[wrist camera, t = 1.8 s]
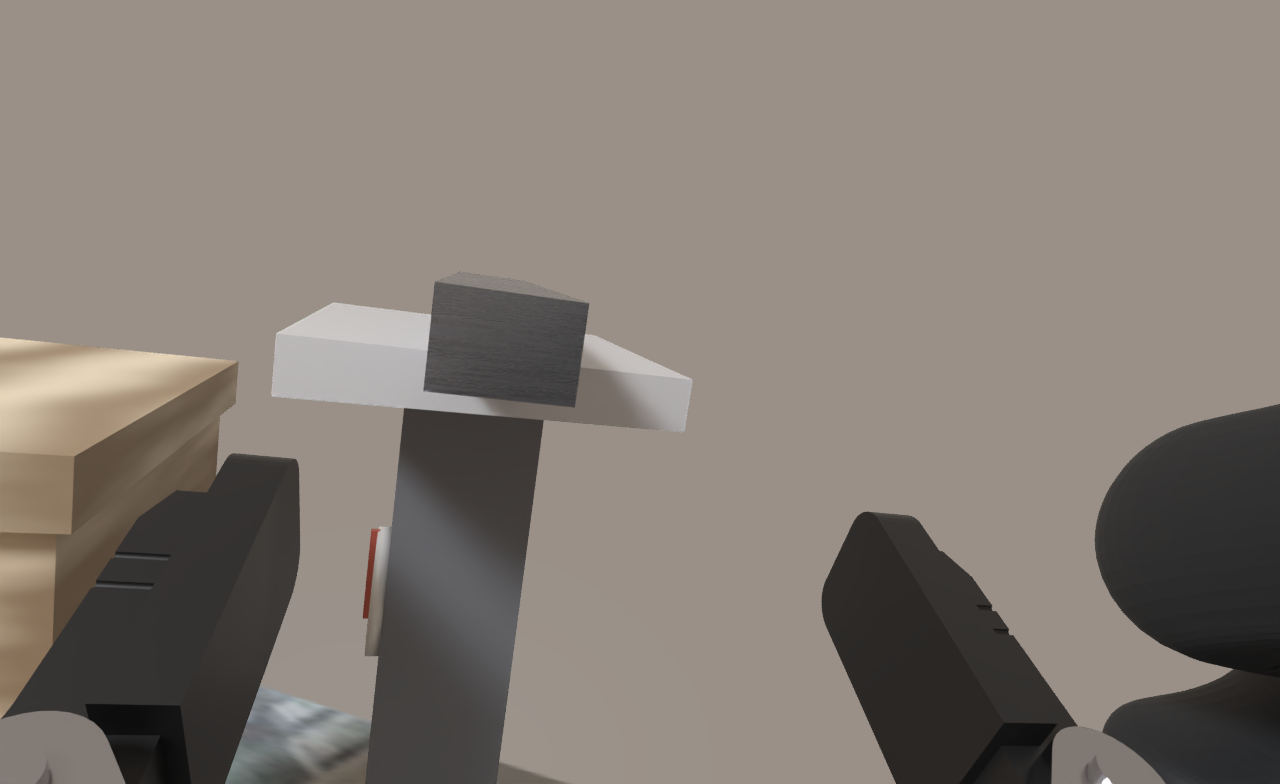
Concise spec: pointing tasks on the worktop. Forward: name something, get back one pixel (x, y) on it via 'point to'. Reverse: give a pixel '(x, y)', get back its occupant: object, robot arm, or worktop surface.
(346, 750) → the worktop surface
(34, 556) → the pine plinth
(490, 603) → the dial scale
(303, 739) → the worktop surface
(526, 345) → the steel bar
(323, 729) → the worktop surface
